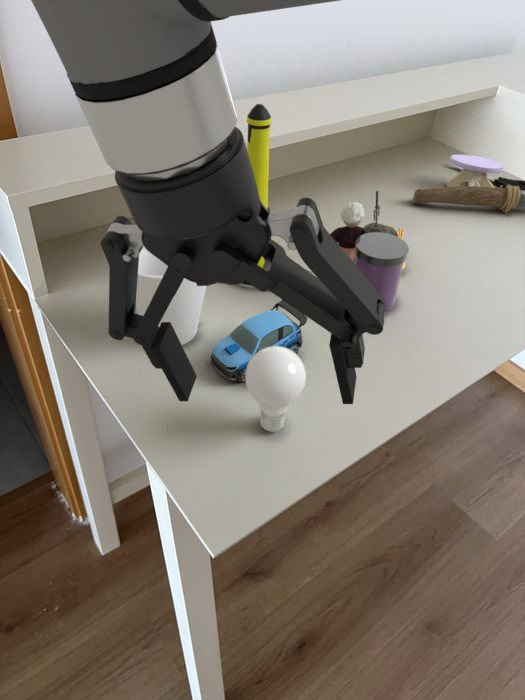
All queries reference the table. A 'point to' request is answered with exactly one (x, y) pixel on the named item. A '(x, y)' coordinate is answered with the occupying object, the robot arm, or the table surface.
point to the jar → (381, 262)
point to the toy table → (473, 170)
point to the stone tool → (474, 196)
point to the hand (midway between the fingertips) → (265, 389)
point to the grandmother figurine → (350, 228)
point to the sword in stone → (379, 227)
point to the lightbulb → (275, 383)
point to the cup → (183, 304)
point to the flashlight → (259, 156)
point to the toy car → (257, 340)
